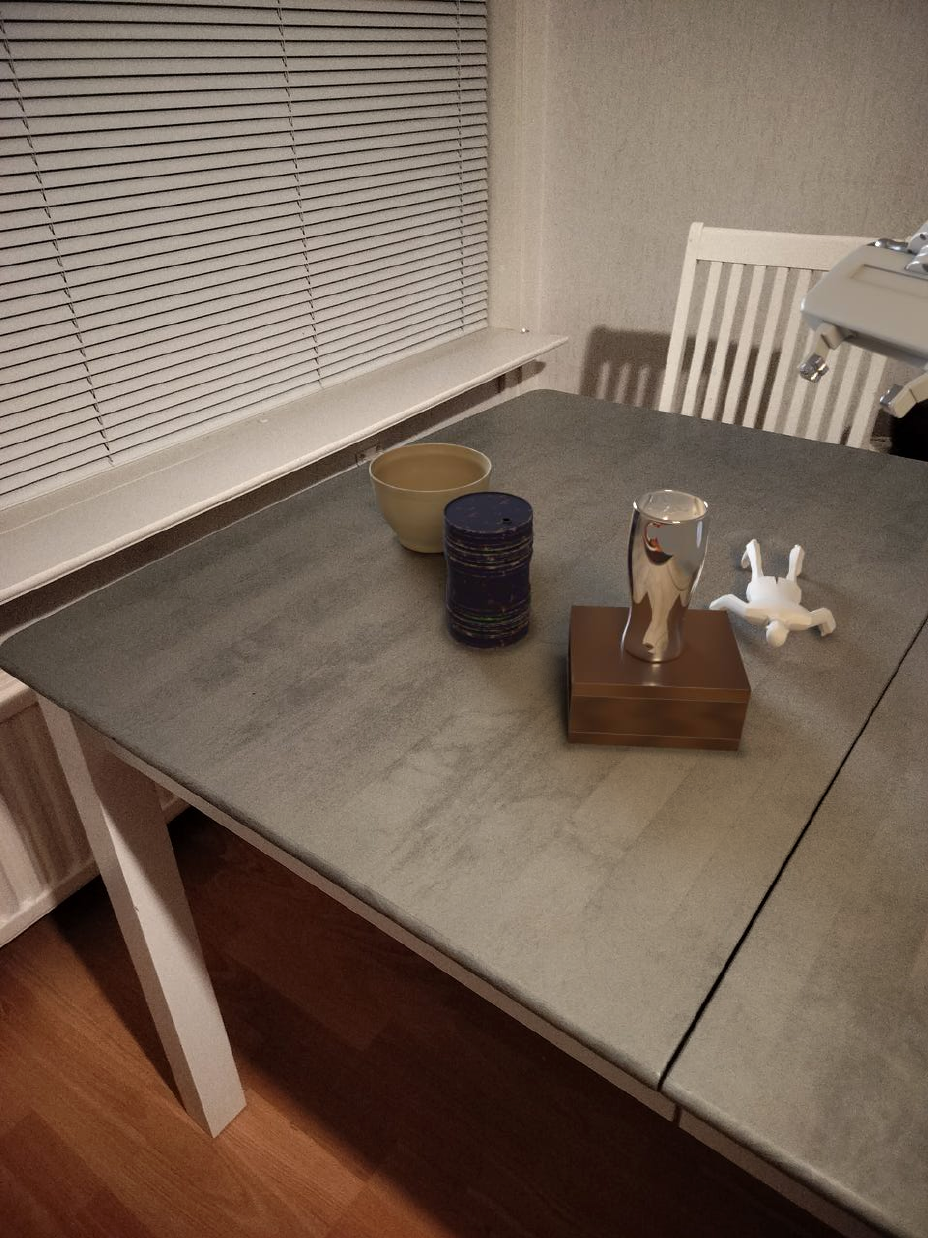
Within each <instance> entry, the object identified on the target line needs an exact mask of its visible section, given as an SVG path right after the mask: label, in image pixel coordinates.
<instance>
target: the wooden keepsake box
mask: <svg viewBox="0 0 928 1238" xmlns="http://www.w3.org/2000/svg"><path fill="white" fill-rule="evenodd" d="M628 615H629V606H606V605H605V606H603V605H602V606H601V605H600V606H599V605H573V604H572V605H570V607H569V620H568V621H569V623H568V637H567V652H566V688H567V689H566V690H567V691H566V692H567V693H566V694H567V696H566V697H567V732H568V733H567V736H568V744H575V745H595V746H597V745H598V746H619V747H620V746H621V747H641V748H642V747H643V748H659V749H660V748H661V749H662V748H664V749H683V750H703V751H726V752H728V751H729V752H738V751H739V747H740V743H741V739H742V733H743V730H744V725H745V721H746V717H747V713H748V709H749V704H750V700H751V694H752V687H751V684H750V680H749V677H748V674H747V671H746V667H745V665H744V662H743V658H742V654H741V651H740V649H739V645H738V643H737V640H736V635H735V633H734V629H733V626H732V623H731V620H730V617H729V614H728V611H726V610H710V609H697V608H696V609H695V608H688V610H687V613H686V617H685V624H684V629H685V650H684V652H683V653H682V654H681V655H680V656H679V657H678V658H676V659H673V660H670V661H665V662H651V661H646V660H642V659H639V658H637V657H635V656H633V655H631V654H630V653H629V652H628V651H627V650H626V649H625V648H624V647H623V644H622V635H623V631H624V628H625V625H626V623H627V619H628Z"/></svg>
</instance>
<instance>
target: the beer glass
mask: <svg viewBox="0 0 928 1238" xmlns="http://www.w3.org/2000/svg"><path fill="white" fill-rule="evenodd" d="M711 511H712V506H711V504H710V502H709V501H708V500H707V499H705V498H704V497H703V496H701V495H699V494H697V493H695V492H691V491H688V490H685V489H684V490H683V489H677V488H658V489H657V488H655V489H651V490H647V491H643V492H642V493H640V494H638V496H636V497H635V498H634V501H633V509H632V514H631V517H630V518H631V519H630V523H629V529H628V536H627V543H626V556H625V557H626V577H627V586H628V588H627V589H628V598H629V599H628V601H629V606H628V607H629V615H628V619H627V623H626V625H625V628H624V631H623V635H622V644H623V647H624V648H625V649H626V650H627V651H628V652H629V653H630V654H631V655H633V656H635V657H637V658H639V659H642V660H646V661H651V662H665V661H670V660H673V659H676V658H678V657H679V656H680V655H681V654H682V653H683V652H684V650H685V629H684V624H685V617H686V613H687V610H688V609H689V607H690V604H691V602H692V599H693V597H694V594H695V591H696V588H697V586H698V584H699V580H700V578H701V574H702V571H703V568H704V565H705V560H706V556H707V552H708V551H707V550H708V543H709V534H710V518H711Z"/></svg>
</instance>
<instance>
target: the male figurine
mask: <svg viewBox="0 0 928 1238" xmlns="http://www.w3.org/2000/svg"><path fill="white" fill-rule="evenodd" d="M805 555H806V553H805V551H804V549H803V548H802V546H801V545H800V544H795V545H794V547H793V548H792V549H791V551H790V553H789V557H788V559H789V562H788V564H789V565H788V573H787V574H786V577H785V578H784V577H782V576H781V577H780V576H778V578H777V579H776V576H770V575H764V573H763V572H764V571H763V569H762V557H761V549H760V544H759V543H758V540H757V539H756V538H753V539H751V541H750V542H748V543H747V544H746V550H745V552H744V553H743V555H742V558H741V561H740V564H741V567H742V569H747V568H748V566H749V565H750V566H751V570H752V573H751V581H750V582H749V583H748V585H747V587H746V590H745V594H746V599H747V601H748V602H745V601H743V600H742V599H740V598H738V597H737V596H736V595H734V594H733V593H729V594H723V595H722V596H721V597H719V598H717V599H715V600H713V601H711V603H710V605H709V607H708V608H709V609H708V610H726V611H727V612H729V611H731V612H732V613H735V614H736V616H738V617H740V618H742V619H744V620H745V621H746V622H747V623H749V624H750V625H753V626H756V627H758V628H760V629H762V630H765V631H766V634H765V635H766V641H767V643H768V645H769V646H770V647H771V648H780V647H781V646H783V644H785V642H786V640H787V638H788V634H789V633H790V632H801V631H806V630H808V629H810V628H812V627H816V626H817V627H818V631H820V636H821V637H825V636H826V635H828V634H832V633H833V631H834V630H835V629H836V627H837V625H836V620H835V618H834V616H833V614H832V611H831V610H829V609H828V608H826V607H824V606H823V607H820V608H818V609H815V610H811V611H809V610H808V609H807V608H806V607H803V606H802V605H801V604H800V603H801V601H802V594H803V593H802V592H803V591H802V589H801V588H800V586H799V585H798V583H797V576H799V575H800V574H801V573H802V570H803V562H804V561H803V560H804V558H805ZM776 580H777V581H776Z"/></svg>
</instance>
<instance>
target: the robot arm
mask: <svg viewBox="0 0 928 1238" xmlns="http://www.w3.org/2000/svg"><path fill="white" fill-rule="evenodd" d="M800 313H801V314H802V317H803V318H804V320H805V322H806V323H807V325H808V326H809V328H810V329H811V330H812V332H813V335H812V339H811V342H810V345H809V349H808V354H806V355H805V357H804V358H803V359H802V360H801V362H800V363H799V364H798V365H797V368H796V371H797V373H798V374H799V376H800V377H801V379H803V380H806V381H809V382H811V383H814V384H816V383H818V382H819V381H820V380H821V379H822V377H823V376H825V375H826V374H827V372H829V370H830V367H829V366H828V364H827V363H826V361H827V358H828V355H829V352H830V351H831V350H832V351H836V350H837V349H838V348H839V347H840V346H841V345H842V344H843V343H845V344H847V345H850V346H854V347H855V348H856V347H857V348H860V349H862V350H865V351H868V352H871V353H874V354H877V355H880V356H882V357H885V358H889V359H891V360H894V361H897V362H900V363H903V364H906V365H909V366H911V367H915V368H918V369H920V370H923V372H924V373H923V374H921V375H920V376H918V377H916V378H915V379H913V380H910V381H909V382H907V383H905V384H904V385H899V384H897V383H893V385H892V386H891V387H890V388H889V389H888V390H887V393H885V394H883V395H882V396H881V398H880V400H879V405H880V407H881V408H882V410H883V412H884V413H887V414H889V415H891V416H893V417H896V418H898V419H901V418H903V417H905V415H906V414H907V413H908V412H910V411H911V409H912V408H913V407H914V406H915V405H916V404H917V403H918V404H919V403H921V402H923V401H925V400H927V399H928V219H927V220H926V221H925V222H924V223H923V224H922V225H921V226H920V228H919V229H918V230H917V231H916V232H915V233H914V235H913V236H911V238H910V240H909V241H897V240H894V239H891V238H888V237H881V238H878V239H877V240H876V241H873V242H869V243H866V244H862V245H860V246H858V247H857V248H856V249H854V250H852V251H851V252H849V253H848V254H847V255H845V256H844V257H843V258H842V259H840V261H838V262H837V263H836V264H835V265H834V266H833V267H832V268H831V269H829V270H828V271H827V272H826V274H824V275H823V276H822V278H820V279H818V281H817V283H815V284H814V286H812V287H811V288H810V289H809V291H807V293H806V294H805V295H804V296H803V298H802V300H801V305H800Z"/></svg>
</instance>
